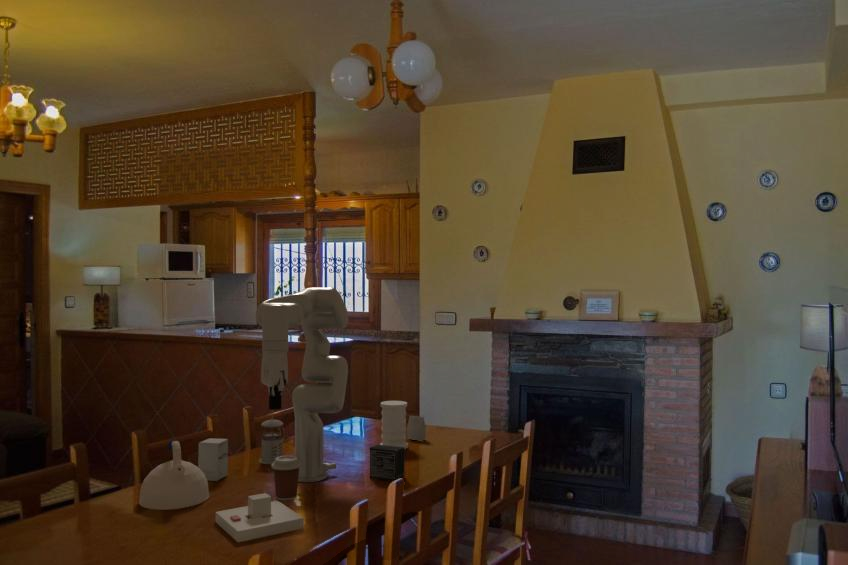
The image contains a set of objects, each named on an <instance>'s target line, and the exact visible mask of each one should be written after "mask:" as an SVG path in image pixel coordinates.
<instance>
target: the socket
mask: <svg viewBox="0 0 848 565" xmlns="http://www.w3.org/2000/svg"><path fill="white" fill-rule="evenodd" d="M304 519H305V518H304V517H303V516H301V515H300V514H298V513H297V512H296V511H294V510H293V509H290V507H288V506H286V505H285V504H283V503H282V502H281V501H280V500H273V501H272V500H271V515H270V517H266V518H264V517H260V518H254V519H253V518H251V519H249V515H248V505H245V506H240V507H235V508H230V509H229V508H228V509H225V510H224V509H223V510H220V511H215V523H216V524H217V525H218V526H219V527H220V528H221V529H223V530H224V531H225V532H226V533H227V535H229V536H230V537H231V538H232V539H233V540H234V541H236V543H241V542H247V541H251V540H255V539H256V540H257V539H260V538H265V537H270V536H275V535H278V534H279V535H280V534H283V533H288V532H293V531H297V530H303V529H304Z"/></svg>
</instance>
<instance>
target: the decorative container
mask: <svg viewBox="0 0 848 565" xmlns="http://www.w3.org/2000/svg"><path fill="white" fill-rule="evenodd" d="M407 407H408V402H407V401H403V400H386V401H385V400H384V401H381V402H380V408H382V409H381V421H380V422H381V436H380V438H381V442H380V443H379V445H387V446H397V447H404V449H405V450H407V449H408V448H409V444H408V442H406V440H407V426H406V423H407V418H406V415H407V410H406V409H407ZM406 448H407V449H406Z"/></svg>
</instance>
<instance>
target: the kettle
mask: <svg viewBox="0 0 848 565" xmlns="http://www.w3.org/2000/svg"><path fill="white" fill-rule="evenodd" d="M167 450H169V451H172V458H171V460H169V461H166V462H163V463H161V464H158V465H157V466H156V467H155V468H153V469H152V470H151V471H150V472H149V473H148V475H146V476H145V478H144V480H143V482H142V484H141V487H140V492H139V500H138V505H139V506H140V507H141V508H144V509H147V508H148V510H155V511H156V510H157V511H165V510H166V511H171V510H179V509H181V510H182V509H185V508H186V507H187V508H190V506H191V507H195V506H197V505H201V504H202V503H204V502H206V501H207V500H209V498H210V493H209V483H208V480H207V479H206V477H205V475H204V473H203V472H202V471H201V470H200V469H199V468H198V465H195V464H193V463H192V462H189V461H185V460H182V450H181V444H180V441H179V440H177V439H171V440H170V441H169V442H168V444H167Z"/></svg>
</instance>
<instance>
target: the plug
mask: <svg viewBox="0 0 848 565" xmlns="http://www.w3.org/2000/svg"><path fill="white" fill-rule="evenodd" d="M271 502H272V496H271V495H269V494H268V493H266V492H265V493H259V494H253V495H248V496H247V506H248V515H249V519H251V518H253V519H254V518H260V517H264V518H266V517H270V515H271Z"/></svg>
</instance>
